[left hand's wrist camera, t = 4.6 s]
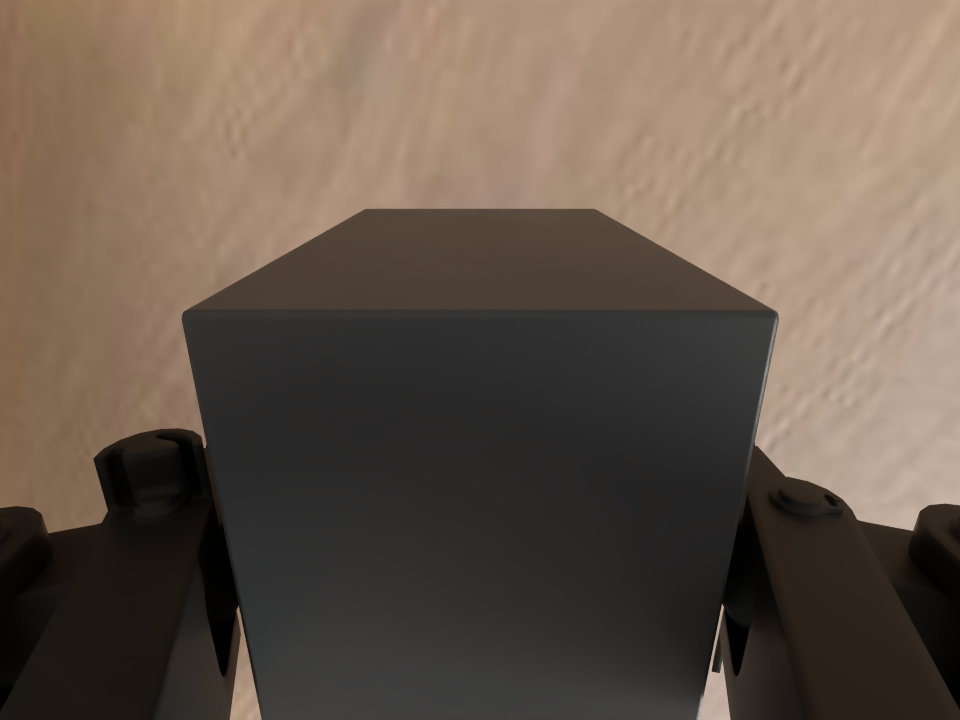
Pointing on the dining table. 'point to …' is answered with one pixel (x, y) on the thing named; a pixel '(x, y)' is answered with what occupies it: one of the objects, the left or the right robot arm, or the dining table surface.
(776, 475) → the left robot arm
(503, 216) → the bar
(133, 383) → the dining table surface
